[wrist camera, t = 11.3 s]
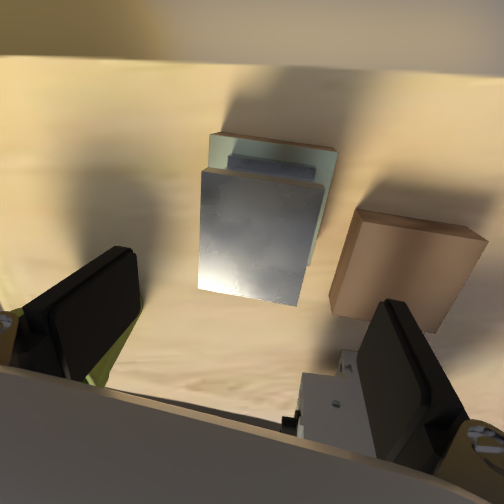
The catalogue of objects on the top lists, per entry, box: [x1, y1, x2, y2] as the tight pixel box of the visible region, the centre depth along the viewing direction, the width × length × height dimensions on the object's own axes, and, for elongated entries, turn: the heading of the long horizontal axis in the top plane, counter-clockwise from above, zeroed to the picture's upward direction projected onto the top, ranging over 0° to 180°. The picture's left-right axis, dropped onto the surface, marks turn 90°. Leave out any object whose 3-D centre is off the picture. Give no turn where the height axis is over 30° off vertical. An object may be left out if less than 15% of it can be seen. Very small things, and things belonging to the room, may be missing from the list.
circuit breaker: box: [280, 350, 377, 458], centre depth 25 cm, size 8×14×15 cm, turn 88°
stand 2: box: [329, 209, 489, 333], centre depth 23 cm, size 9×9×3 cm
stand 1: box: [208, 132, 338, 266], centre depth 22 cm, size 9×9×3 cm
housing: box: [198, 153, 325, 307], centre depth 18 cm, size 6×7×7 cm
